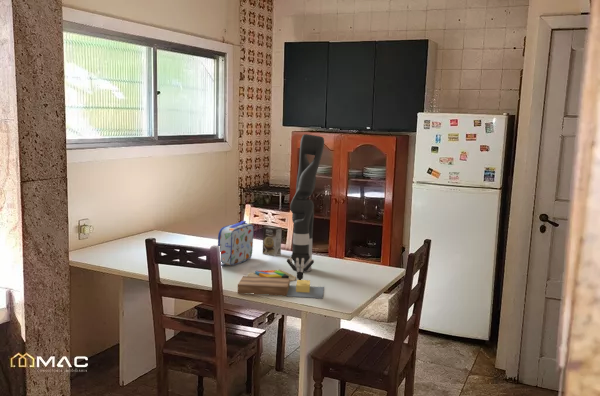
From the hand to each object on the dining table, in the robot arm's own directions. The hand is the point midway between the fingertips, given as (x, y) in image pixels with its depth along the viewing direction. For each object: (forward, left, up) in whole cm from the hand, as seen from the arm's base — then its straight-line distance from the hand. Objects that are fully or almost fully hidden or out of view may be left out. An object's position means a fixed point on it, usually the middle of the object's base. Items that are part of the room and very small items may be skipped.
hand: (299, 279), depth 253 cm
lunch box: (-45, -38, -5) cm, 59 cm away
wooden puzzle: (-17, -15, -6) cm, 23 cm away
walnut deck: (+2, -16, -5) cm, 17 cm away
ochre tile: (0, +2, -3) cm, 4 cm away
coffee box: (-66, -21, -5) cm, 69 cm away
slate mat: (+2, +3, -5) cm, 6 cm away
